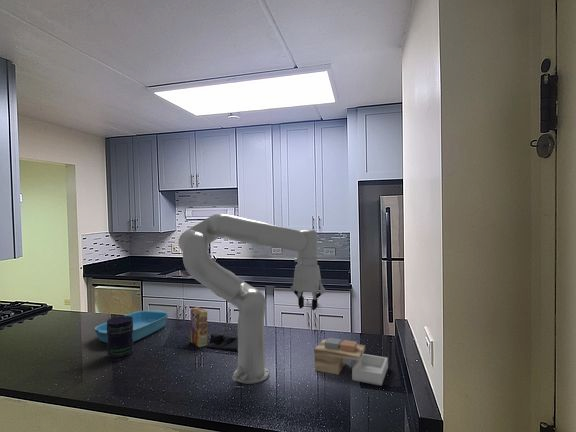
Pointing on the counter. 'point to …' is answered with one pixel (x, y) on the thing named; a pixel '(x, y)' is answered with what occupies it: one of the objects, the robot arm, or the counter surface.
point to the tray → (370, 369)
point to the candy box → (199, 327)
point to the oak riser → (334, 357)
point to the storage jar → (120, 337)
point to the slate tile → (332, 343)
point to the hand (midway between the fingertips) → (307, 307)
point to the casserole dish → (138, 324)
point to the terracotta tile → (348, 345)
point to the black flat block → (224, 342)
